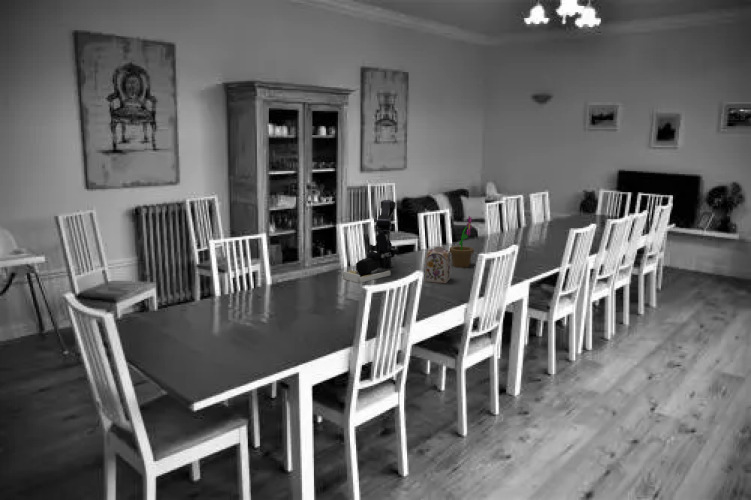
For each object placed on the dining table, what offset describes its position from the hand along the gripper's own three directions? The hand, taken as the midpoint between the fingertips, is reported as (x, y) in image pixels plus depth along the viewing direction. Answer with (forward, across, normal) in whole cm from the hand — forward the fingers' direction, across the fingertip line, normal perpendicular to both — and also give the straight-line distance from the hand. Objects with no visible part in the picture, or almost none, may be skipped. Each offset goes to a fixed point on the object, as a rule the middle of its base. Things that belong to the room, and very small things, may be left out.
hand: (382, 268), depth 321 cm
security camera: (+3, +12, 0) cm, 13 cm away
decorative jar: (+3, -10, +30) cm, 32 cm away
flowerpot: (+3, -48, +18) cm, 51 cm away
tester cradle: (+3, +12, 0) cm, 13 cm away
